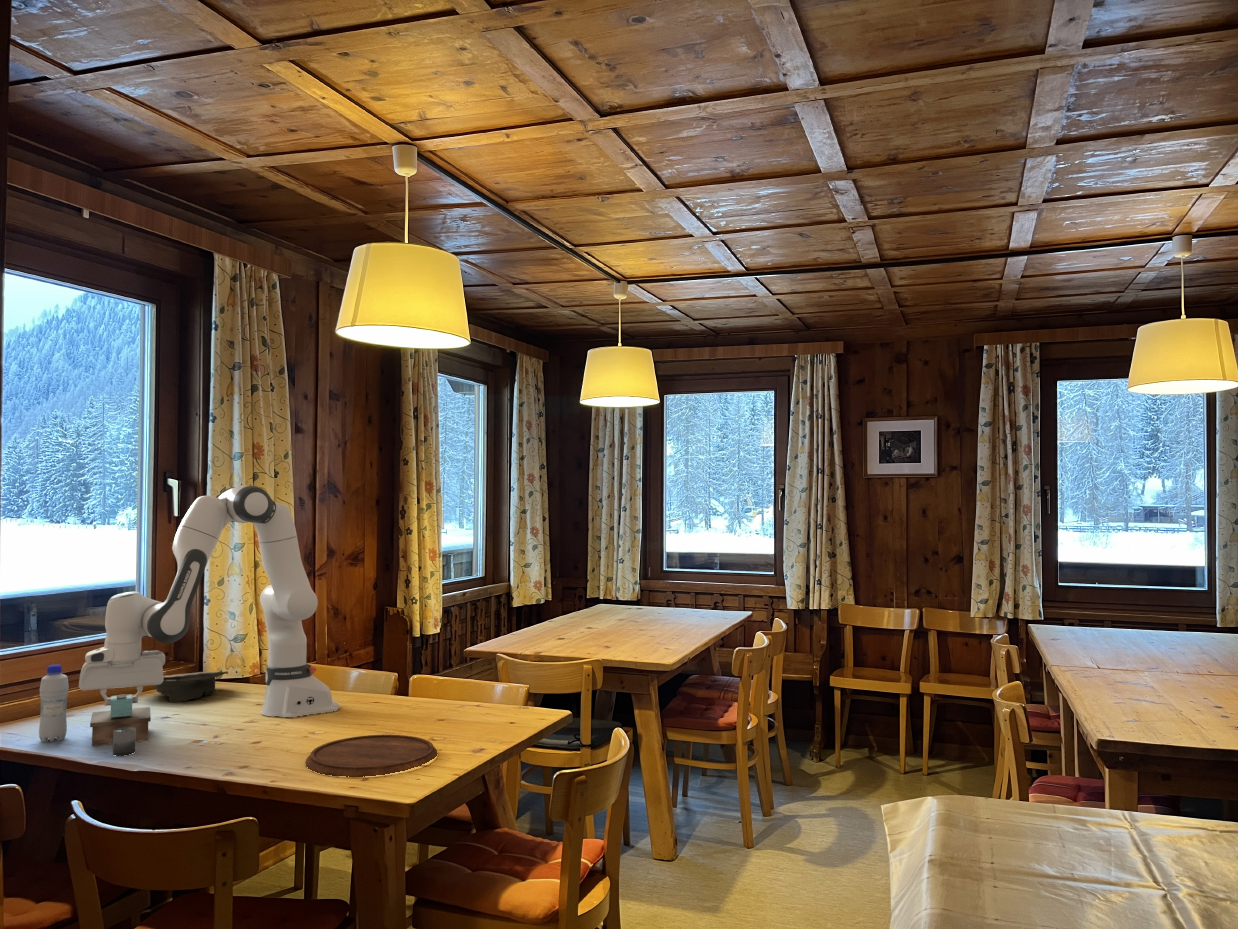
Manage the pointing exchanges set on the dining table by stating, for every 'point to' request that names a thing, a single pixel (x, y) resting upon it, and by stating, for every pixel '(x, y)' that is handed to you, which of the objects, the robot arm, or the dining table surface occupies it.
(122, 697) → the block
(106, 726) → the stand
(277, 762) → the dining table surface
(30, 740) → the dining table surface
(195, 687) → the stone bowl
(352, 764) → the cutting board
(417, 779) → the dining table surface
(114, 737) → the tin
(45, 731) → the bottle
